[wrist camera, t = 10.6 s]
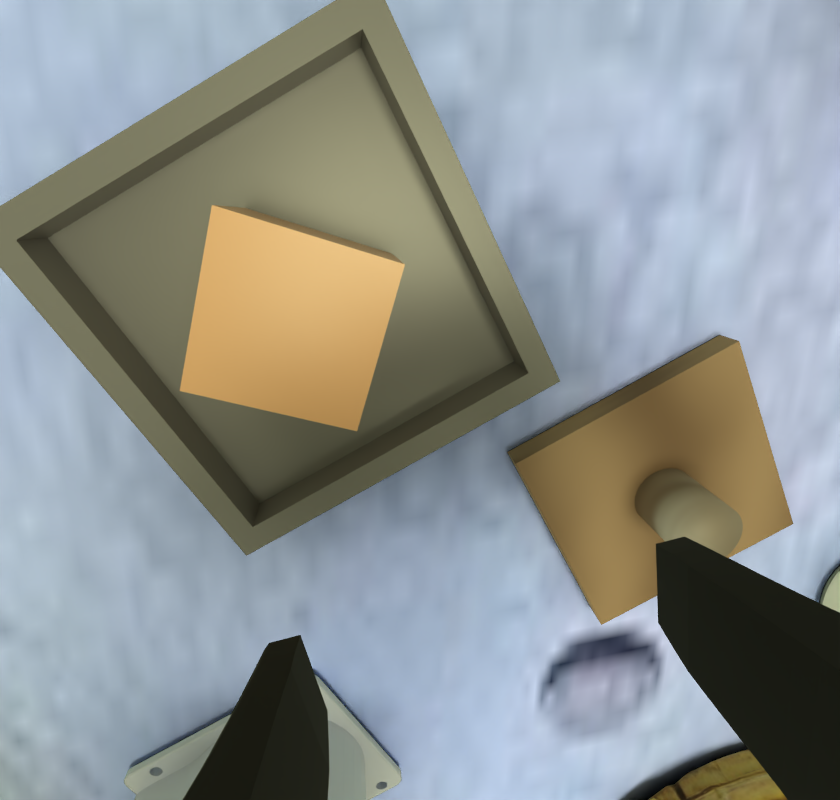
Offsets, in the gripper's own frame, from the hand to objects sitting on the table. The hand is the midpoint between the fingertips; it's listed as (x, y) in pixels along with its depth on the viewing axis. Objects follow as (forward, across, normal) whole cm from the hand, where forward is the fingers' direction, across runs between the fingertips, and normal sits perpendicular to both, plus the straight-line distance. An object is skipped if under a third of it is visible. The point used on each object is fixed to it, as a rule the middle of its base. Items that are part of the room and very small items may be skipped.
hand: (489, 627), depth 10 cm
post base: (+9, -9, +4) cm, 13 cm away
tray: (+9, +3, -6) cm, 11 cm away
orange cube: (+9, +3, -6) cm, 11 cm away
